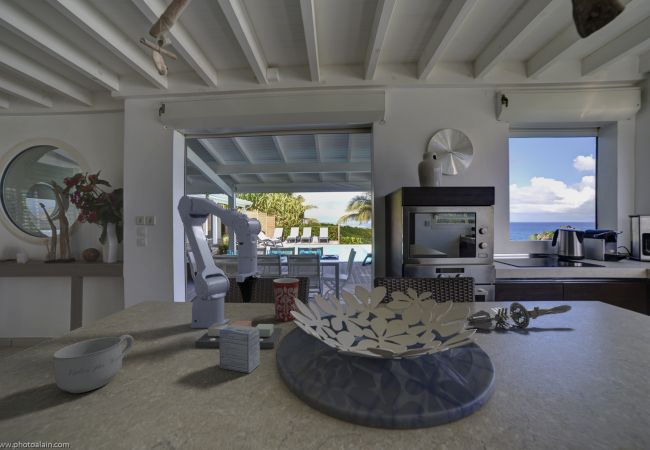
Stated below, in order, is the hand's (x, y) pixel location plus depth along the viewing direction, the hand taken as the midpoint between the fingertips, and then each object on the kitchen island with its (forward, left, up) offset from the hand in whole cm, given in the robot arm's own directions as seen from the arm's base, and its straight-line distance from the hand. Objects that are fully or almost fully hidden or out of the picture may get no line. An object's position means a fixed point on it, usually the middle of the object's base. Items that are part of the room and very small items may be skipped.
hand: (247, 301), depth 87 cm
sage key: (+7, -6, -7) cm, 12 cm away
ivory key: (-6, -6, -7) cm, 11 cm away
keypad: (0, -6, -9) cm, 11 cm away
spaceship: (+86, +7, -10) cm, 86 cm away
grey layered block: (+5, -22, -10) cm, 25 cm away
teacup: (-22, -29, -10) cm, 38 cm away
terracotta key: (0, -6, -6) cm, 9 cm away
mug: (+9, +16, -9) cm, 21 cm away
